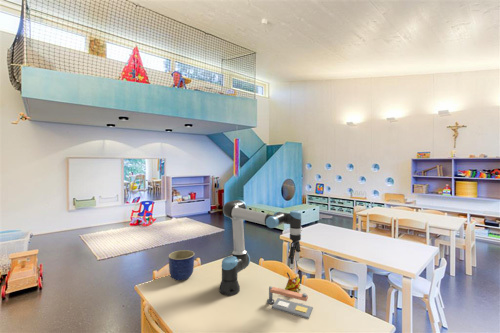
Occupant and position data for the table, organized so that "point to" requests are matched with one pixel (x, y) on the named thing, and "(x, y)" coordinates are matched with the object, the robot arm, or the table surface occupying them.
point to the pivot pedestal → (270, 302)
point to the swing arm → (286, 294)
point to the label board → (292, 308)
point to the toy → (293, 284)
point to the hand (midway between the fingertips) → (294, 264)
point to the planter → (181, 264)
